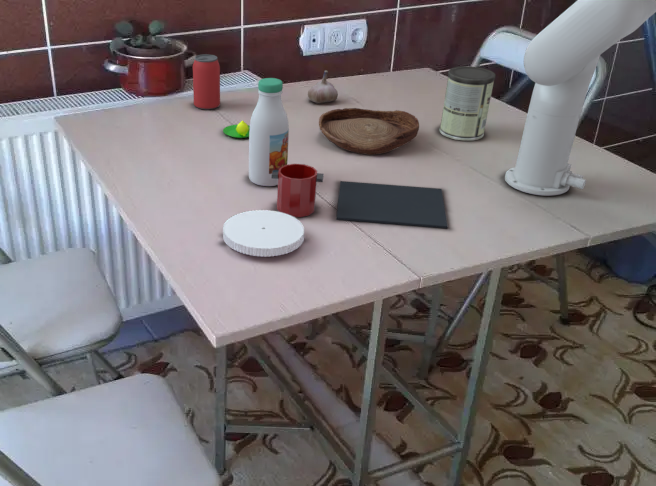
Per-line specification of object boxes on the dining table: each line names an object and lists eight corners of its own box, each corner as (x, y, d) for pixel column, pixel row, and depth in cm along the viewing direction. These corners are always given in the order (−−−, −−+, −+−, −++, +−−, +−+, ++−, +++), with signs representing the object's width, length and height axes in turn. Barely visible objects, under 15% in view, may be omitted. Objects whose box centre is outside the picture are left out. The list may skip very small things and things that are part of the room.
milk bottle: (254, 189, 147) (256, 88, 136) (244, 173, 153) (245, 76, 142) (291, 185, 149) (296, 85, 138) (280, 169, 155) (284, 73, 144)
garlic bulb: (342, 100, 192) (344, 69, 188) (328, 108, 187) (331, 76, 182) (316, 94, 195) (318, 64, 191) (302, 102, 190) (304, 71, 186)
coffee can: (436, 123, 179) (446, 64, 171) (480, 126, 178) (491, 67, 171) (441, 139, 171) (451, 78, 163) (487, 142, 170) (499, 80, 162)
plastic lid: (214, 256, 125) (214, 243, 123) (232, 218, 136) (232, 206, 135) (297, 266, 123) (298, 252, 121) (308, 226, 134) (309, 214, 133)
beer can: (191, 102, 188) (189, 54, 182) (216, 100, 190) (215, 52, 183) (197, 111, 183) (196, 62, 176) (223, 109, 185) (222, 60, 178)
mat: (441, 190, 148) (441, 188, 148) (447, 228, 135) (447, 226, 134) (340, 183, 150) (340, 180, 150) (336, 219, 137) (336, 217, 136)
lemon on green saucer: (262, 137, 170) (263, 125, 168) (229, 141, 167) (229, 129, 166) (250, 125, 176) (250, 113, 174) (218, 129, 173) (218, 117, 172)
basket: (321, 156, 161) (323, 134, 158) (312, 122, 178) (314, 102, 175) (424, 156, 162) (428, 135, 159) (406, 123, 179) (409, 103, 176)
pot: (322, 202, 143) (324, 165, 138) (319, 219, 137) (322, 181, 133) (273, 198, 144) (274, 162, 139) (268, 214, 138) (269, 177, 134)
